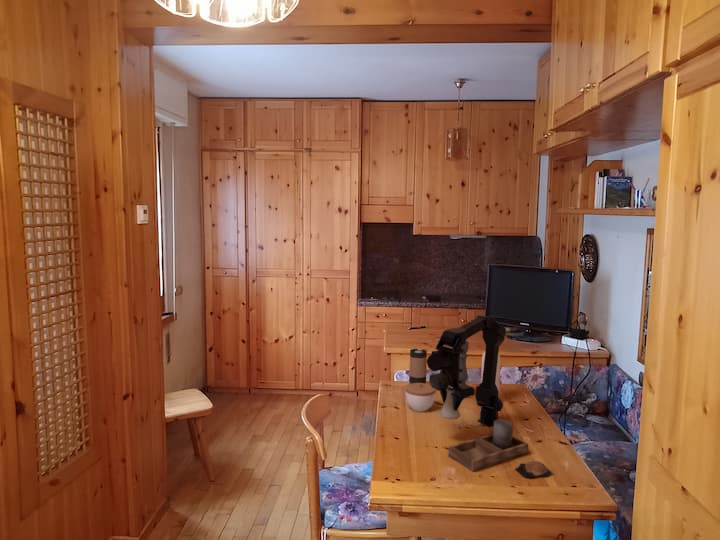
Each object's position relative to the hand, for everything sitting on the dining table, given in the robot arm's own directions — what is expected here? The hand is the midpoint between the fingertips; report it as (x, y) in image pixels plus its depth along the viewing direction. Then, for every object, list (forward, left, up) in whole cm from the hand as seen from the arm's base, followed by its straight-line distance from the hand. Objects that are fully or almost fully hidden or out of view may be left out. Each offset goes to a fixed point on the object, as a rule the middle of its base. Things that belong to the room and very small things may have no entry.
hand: (450, 407), depth 185 cm
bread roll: (-9, +31, -13) cm, 35 cm away
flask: (0, 0, -3) cm, 3 cm away
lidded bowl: (-9, -29, -12) cm, 33 cm away
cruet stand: (-4, +16, -12) cm, 20 cm away
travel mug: (-19, -44, -12) cm, 50 cm away
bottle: (-41, -21, -12) cm, 48 cm away
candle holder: (-34, -32, -12) cm, 48 cm away
